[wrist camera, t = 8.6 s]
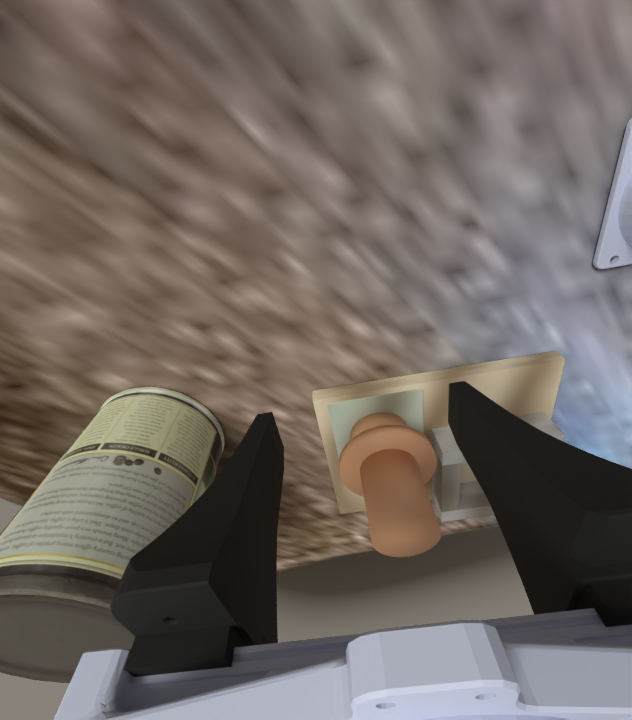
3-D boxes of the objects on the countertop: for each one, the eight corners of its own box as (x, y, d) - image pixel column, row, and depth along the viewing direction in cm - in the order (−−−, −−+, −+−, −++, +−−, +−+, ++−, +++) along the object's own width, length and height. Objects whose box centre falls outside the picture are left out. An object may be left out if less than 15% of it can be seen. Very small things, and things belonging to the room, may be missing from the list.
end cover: (434, 405, 25) (485, 505, 18) (408, 467, 29) (442, 571, 22) (345, 396, 25) (361, 496, 17) (329, 460, 28) (337, 566, 21)
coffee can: (243, 464, 30) (202, 671, 18) (138, 485, 31) (33, 693, 19) (194, 371, 25) (90, 577, 13) (69, 400, 26) (-135, 615, 14)
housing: (554, 350, 25) (591, 379, 22) (527, 476, 32) (551, 512, 29) (312, 390, 26) (313, 423, 23) (339, 502, 33) (342, 539, 30)
